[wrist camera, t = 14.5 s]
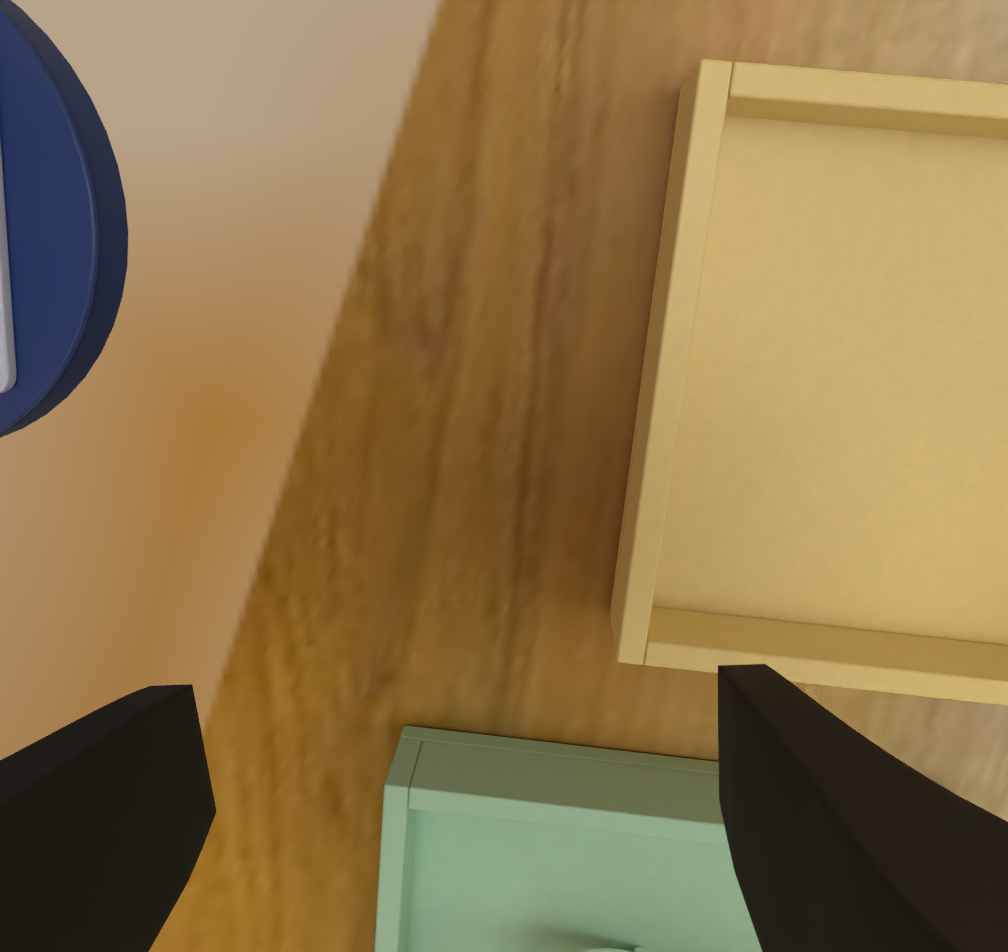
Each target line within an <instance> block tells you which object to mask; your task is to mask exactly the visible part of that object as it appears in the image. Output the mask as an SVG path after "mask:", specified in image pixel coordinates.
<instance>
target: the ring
mask: <svg viewBox="0 0 1008 952" xmlns="http://www.w3.org/2000/svg"><path fill="white" fill-rule="evenodd" d="M582 952H631V951H627V950H620V949H610V948H601V949H591V950H586V951H582ZM634 952H654V951H652V950H650V949H648V948H644V947H636V948H635V950H634Z"/></svg>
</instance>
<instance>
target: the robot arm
mask: <svg viewBox="0 0 1008 952" xmlns="http://www.w3.org/2000/svg"><path fill="white" fill-rule="evenodd" d="M16 376H17V372H16V358H15V343H14V329H13V314H12V300H11V285H10V271H9V256H8V241H7V227H6V212H5V198H4V183H3V169H2V154H1V140H0V393H4V392H7V391H8V390H10V389H11V388H12V387H13V386H14V384H15V382H16ZM718 740H719V802H720V807H721V812H722V816H723V821H724V826H725V831H726V835H727V840H728V845H729V849H730V853H731V858H732V862H733V867H734V871H735V874H736V877H737V880H738V883H739V886H740V889H741V892H742V895H743V898H744V900H745V903H746V906H747V909H748V912H749V915H750V918H751V921H752V924H753V926H754V929H755V932H756V935H757V938H758V941H759V944H760V946H761V949H762V952H1008V822H1007V821H1005V820H1003V819H1001V818H999V817H997V816H995V815H993V814H992V813H990V812H988V811H986V810H984V809H982V808H980V807H978V806H976V805H975V804H973V803H971V802H969V801H967V800H965V799H963V798H961V797H959V796H958V795H956V794H954V793H952V792H951V791H949V790H947V789H946V788H944V787H942V786H940V785H939V784H937V783H935V782H933V781H932V780H930V779H929V778H927V777H925V776H924V775H922V774H921V773H919V772H917V771H916V770H914V769H913V768H911V767H910V766H908V765H906V764H905V763H903V762H902V761H900V760H898V759H897V758H895V757H894V756H892V755H890V754H889V753H887V752H886V751H885V750H883V749H882V748H880V747H879V746H877V745H876V744H874V743H873V742H871V741H870V740H868V739H867V738H865V737H864V736H862V735H861V734H860V733H858V732H857V731H855V730H854V729H853V728H851V727H850V726H848V725H847V724H846V723H844V722H843V721H841V720H840V719H839V718H837V717H836V716H835V715H833V714H832V713H831V712H829V711H828V710H827V709H825V708H824V707H822V706H821V705H820V704H819V703H817V702H816V701H815V700H813V699H812V698H811V697H809V696H808V695H807V694H805V693H804V692H803V691H801V690H800V689H799V688H798V687H796V686H795V685H794V684H792V683H791V682H790V681H788V680H787V679H786V678H784V677H783V676H782V675H780V674H779V673H778V672H776V671H775V670H774V669H772V668H771V667H769V666H768V665H766V664H746V665H718ZM215 814H216V807H215V802H214V797H213V791H212V786H211V781H210V776H209V770H208V765H207V760H206V755H205V750H204V744H203V739H202V734H201V729H200V723H199V718H198V713H197V708H196V702H195V697H194V692H193V687H192V685H165V686H149V687H146V688H144V689H141V690H138V691H136V692H133V693H131V694H129V695H126V696H124V697H122V698H120V699H118V700H116V701H114V702H112V703H110V704H108V705H106V706H104V707H102V708H100V709H98V710H96V711H94V712H92V713H90V714H88V715H86V716H84V717H82V718H80V719H78V720H76V721H75V722H73V723H71V724H69V725H67V726H65V727H63V728H61V729H59V730H57V731H56V732H54V733H52V734H50V735H48V736H46V737H44V738H42V739H41V740H39V741H37V742H35V743H33V744H31V745H29V746H27V747H25V748H23V749H22V750H20V751H18V752H16V753H14V754H12V755H10V756H8V757H6V758H4V759H2V760H0V952H148V951H149V949H150V948H151V946H152V944H153V943H154V941H155V939H156V937H157V936H158V934H159V932H160V930H161V929H162V927H163V925H164V923H165V922H166V920H167V918H168V916H169V914H170V913H171V911H172V909H173V907H174V906H175V904H176V902H177V900H178V899H179V897H180V895H181V893H182V891H183V889H184V888H185V886H186V884H187V882H188V880H189V878H190V876H191V873H192V871H193V869H194V866H195V864H196V862H197V859H198V857H199V855H200V852H201V850H202V848H203V845H204V842H205V840H206V837H207V835H208V832H209V829H210V827H211V824H212V822H213V819H214V816H215Z"/></svg>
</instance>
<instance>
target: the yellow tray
mask: <svg viewBox="0 0 1008 952" xmlns="http://www.w3.org/2000/svg"><path fill="white" fill-rule="evenodd" d="M610 617H611V624H612V631H613V639H614V646H615V653H616V659H617V662H619V663H628V664H637V665H642V664H643V662H644V664H645V665H647V666H656V667H664V668H673V669H682V670H691V671H700V672H709V673H718V665H746V664H766V665H768V666H769V667H771V668H772V669H774V670H775V671H776V672H778V673H779V674H780V675H782V676H783V677H784V678H786V679H787V680H788V681H790V682H798V683H807V684H816V685H825V686H834V687H843V688H852V689H861V690H870V691H879V692H887V693H896V694H905V695H914V696H923V697H932V698H941V699H950V700H959V701H968V702H977V703H986V704H994V705H1003V706H1008V84H1003V83H991V82H979V81H967V80H955V79H943V78H931V77H919V76H907V75H895V74H883V73H871V72H859V71H846V70H834V69H822V68H810V67H798V66H786V65H774V64H762V63H750V62H738V61H737V62H734V63H733V64H732V62H731V61H727V60H715V59H701V60H700V62H699V63H698V64H697V66H696V67H695V69H694V70H693V71H692V73H691V74H690V76H689V77H688V78H687V80H686V81H685V83H684V84H683V85H682V87H681V89H680V95H679V102H678V110H677V117H676V125H675V132H674V140H673V147H672V154H671V162H670V169H669V177H668V184H667V192H666V199H665V206H664V214H663V221H662V229H661V236H660V244H659V251H658V258H657V266H656V273H655V281H654V288H653V296H652V303H651V310H650V318H649V325H648V333H647V340H646V348H645V355H644V362H643V370H642V377H641V385H640V392H639V399H638V407H637V414H636V422H635V429H634V437H633V444H632V451H631V459H630V466H629V474H628V481H627V489H626V496H625V503H624V511H623V518H622V526H621V533H620V541H619V548H618V555H617V563H616V570H615V578H614V585H613V593H612V600H611V607H610Z"/></svg>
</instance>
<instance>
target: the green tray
mask: <svg viewBox="0 0 1008 952" xmlns="http://www.w3.org/2000/svg"><path fill="white" fill-rule="evenodd" d="M636 947H644V948H648V949H650V950H652V951H654V952H762V949H761V946H760V944H759V941H758V938H757V935H756V932H755V929H754V926H753V924H752V921H751V918H750V915H749V912H748V909H747V906H746V903H745V900H744V898H743V895H742V892H741V889H740V886H739V883H738V880H737V877H736V874H735V871H734V867H733V862H732V858H731V853H730V849H729V845H728V840H727V835H726V831H725V826H724V821H723V816H722V812H721V807H720V802H719V762H715V761H707V760H698V759H690V758H681V757H672V756H664V755H655V754H647V753H638V752H629V751H621V750H612V749H604V748H595V747H586V746H578V745H569V744H561V743H552V742H543V741H535V740H526V739H518V738H509V737H500V736H492V735H483V734H475V733H466V732H457V731H449V730H440V729H432V728H423V727H414V726H404V727H403V730H402V733H401V736H400V740H399V742H398V745H397V748H396V751H395V754H394V757H393V760H392V763H391V766H390V769H389V772H388V775H387V778H386V781H385V784H384V794H383V811H382V829H381V846H380V863H379V880H378V897H377V914H376V931H375V948H374V952H582V951H586V950H591V949H601V948H610V949H620V950H627V951H631V952H634V950H635V948H636Z"/></svg>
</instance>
